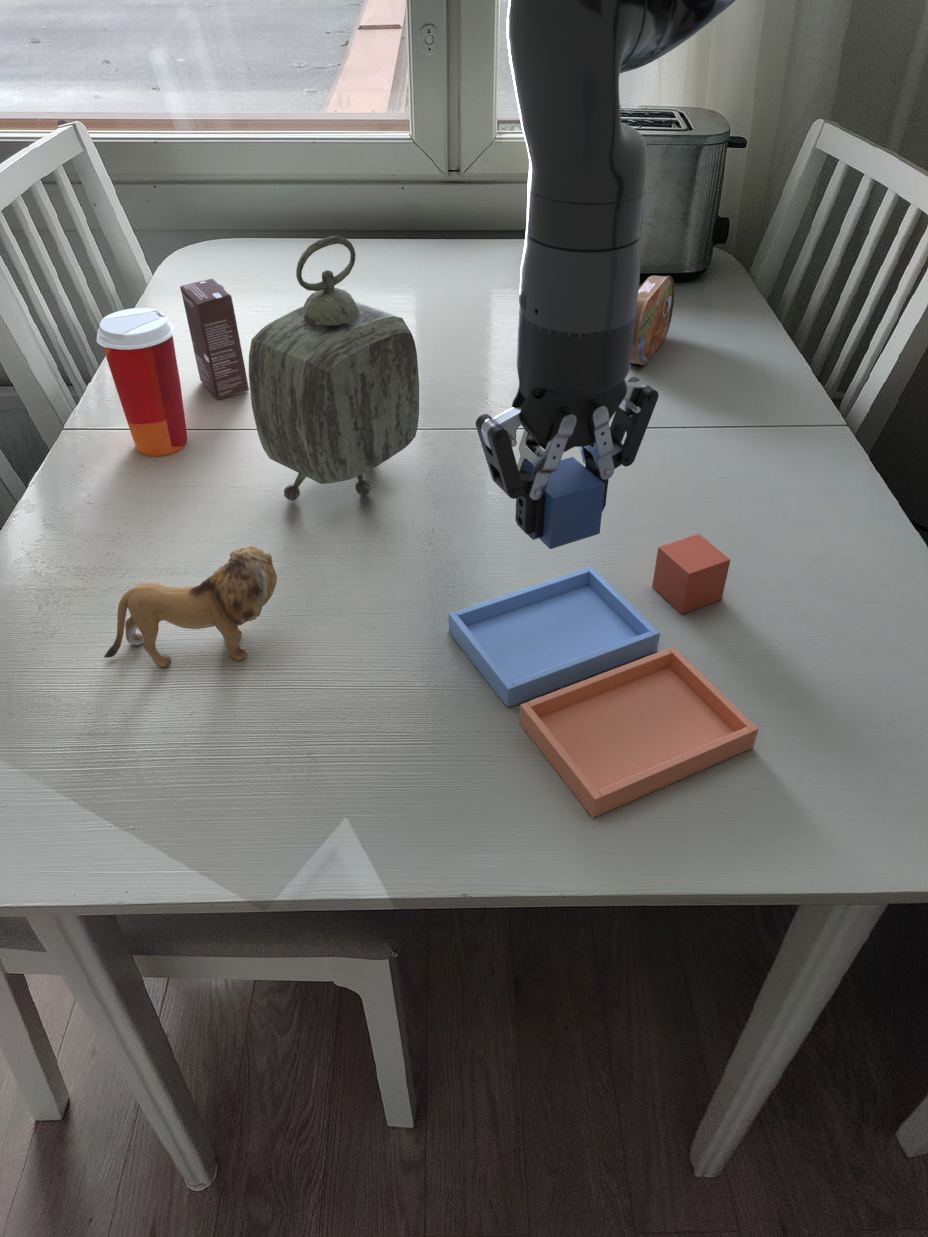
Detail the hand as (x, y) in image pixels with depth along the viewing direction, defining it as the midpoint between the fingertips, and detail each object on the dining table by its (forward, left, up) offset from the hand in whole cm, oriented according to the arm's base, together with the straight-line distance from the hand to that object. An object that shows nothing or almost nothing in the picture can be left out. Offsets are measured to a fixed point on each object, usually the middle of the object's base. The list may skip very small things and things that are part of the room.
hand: (560, 523), depth 72 cm
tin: (-40, -43, -12) cm, 60 cm away
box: (+11, -58, -12) cm, 60 cm away
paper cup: (+21, -48, -12) cm, 54 cm away
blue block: (0, 0, 0) cm, 0 cm away
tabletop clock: (+6, -30, -12) cm, 33 cm away
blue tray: (0, 0, -12) cm, 12 cm away
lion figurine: (+26, -13, -12) cm, 32 cm away
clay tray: (0, +12, -12) cm, 17 cm away
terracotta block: (-14, 0, -12) cm, 18 cm away
